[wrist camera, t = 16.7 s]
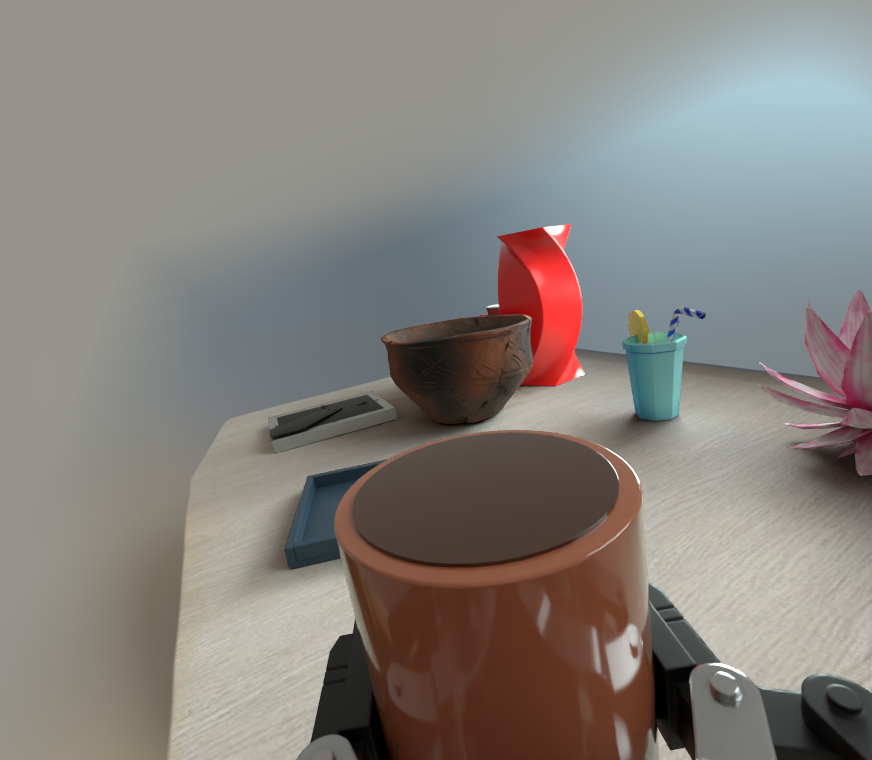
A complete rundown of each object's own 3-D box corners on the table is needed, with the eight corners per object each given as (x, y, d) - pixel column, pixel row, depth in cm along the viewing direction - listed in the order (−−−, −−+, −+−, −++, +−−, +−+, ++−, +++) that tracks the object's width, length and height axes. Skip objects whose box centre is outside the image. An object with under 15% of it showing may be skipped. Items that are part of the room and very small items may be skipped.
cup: (730, 423, 55) (730, 301, 51) (679, 438, 53) (675, 313, 49) (647, 398, 68) (642, 299, 64) (604, 409, 66) (597, 309, 62)
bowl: (569, 393, 76) (560, 305, 73) (491, 450, 58) (475, 337, 55) (454, 387, 92) (443, 315, 89) (366, 430, 74) (347, 342, 71)
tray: (289, 569, 40) (283, 549, 39) (311, 491, 55) (307, 475, 55) (447, 533, 42) (443, 513, 41) (426, 466, 57) (423, 451, 56)
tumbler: (386, 947, 12) (269, 524, 9) (501, 741, 17) (448, 419, 14) (633, 1229, 8) (565, 643, 5) (692, 855, 13) (674, 439, 10)
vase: (595, 378, 82) (583, 220, 76) (522, 393, 81) (503, 233, 74) (560, 364, 97) (547, 231, 90) (497, 376, 95) (479, 241, 89)
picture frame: (274, 453, 71) (397, 418, 78) (270, 436, 70) (394, 403, 77) (270, 428, 85) (374, 400, 92) (267, 414, 84) (371, 387, 91)
